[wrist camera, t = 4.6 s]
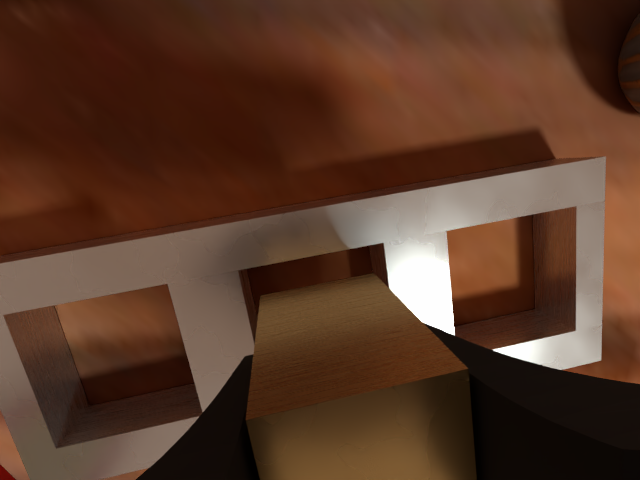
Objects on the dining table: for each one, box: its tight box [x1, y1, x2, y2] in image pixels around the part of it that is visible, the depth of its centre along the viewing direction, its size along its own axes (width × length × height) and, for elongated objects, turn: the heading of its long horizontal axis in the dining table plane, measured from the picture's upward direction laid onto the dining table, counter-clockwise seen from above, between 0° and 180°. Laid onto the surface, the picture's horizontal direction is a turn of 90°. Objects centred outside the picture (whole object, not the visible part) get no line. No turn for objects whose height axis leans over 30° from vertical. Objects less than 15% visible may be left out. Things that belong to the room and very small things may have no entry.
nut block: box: [246, 273, 477, 480], centre depth 9 cm, size 4×4×6 cm
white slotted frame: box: [0, 157, 606, 480], centre depth 14 cm, size 9×24×2 cm, turn 99°
